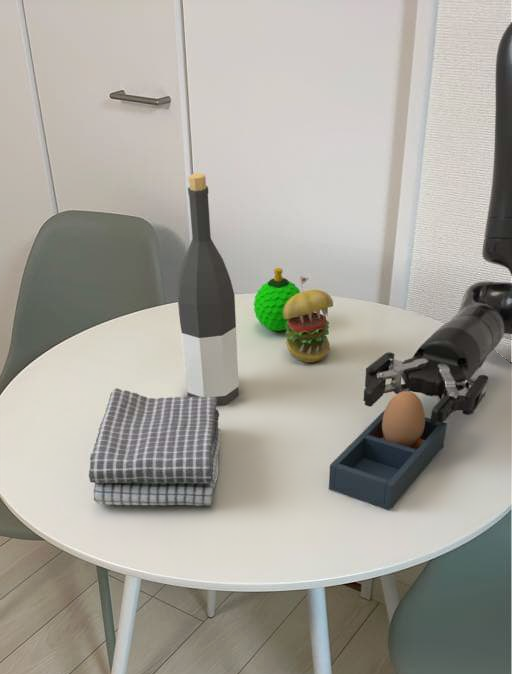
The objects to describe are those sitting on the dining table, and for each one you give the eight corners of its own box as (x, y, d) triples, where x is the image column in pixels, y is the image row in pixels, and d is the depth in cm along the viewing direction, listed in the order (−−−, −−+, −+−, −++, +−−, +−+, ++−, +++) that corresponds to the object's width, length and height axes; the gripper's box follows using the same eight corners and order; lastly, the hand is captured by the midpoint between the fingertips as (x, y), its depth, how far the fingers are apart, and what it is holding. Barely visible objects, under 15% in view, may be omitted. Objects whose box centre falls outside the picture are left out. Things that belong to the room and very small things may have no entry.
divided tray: (443, 447, 97) (447, 423, 94) (389, 510, 88) (392, 485, 85) (385, 429, 101) (388, 406, 98) (328, 489, 91) (329, 464, 89)
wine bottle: (175, 390, 112) (153, 174, 93) (222, 375, 115) (210, 162, 96) (201, 413, 107) (182, 189, 87) (250, 396, 109) (242, 175, 90)
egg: (402, 463, 93) (409, 408, 88) (371, 447, 96) (376, 392, 91) (429, 447, 95) (438, 392, 90) (398, 431, 99) (404, 377, 93)
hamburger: (299, 371, 114) (300, 294, 106) (273, 353, 119) (272, 279, 111) (340, 357, 117) (344, 281, 109) (313, 340, 122) (315, 267, 114)
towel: (92, 515, 91) (81, 461, 85) (113, 433, 104) (104, 382, 99) (218, 511, 89) (214, 457, 84) (222, 428, 103) (218, 377, 98)
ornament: (303, 338, 122) (305, 278, 116) (254, 340, 123) (252, 280, 117) (302, 317, 129) (303, 259, 122) (254, 319, 129) (253, 261, 123)
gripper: (406, 316, 101) (348, 366, 91) (513, 338, 94) (462, 395, 84) (401, 366, 106) (345, 420, 96) (501, 392, 99) (452, 451, 89)
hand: (400, 408), depth 90 cm, fingers open, 8 cm apart
